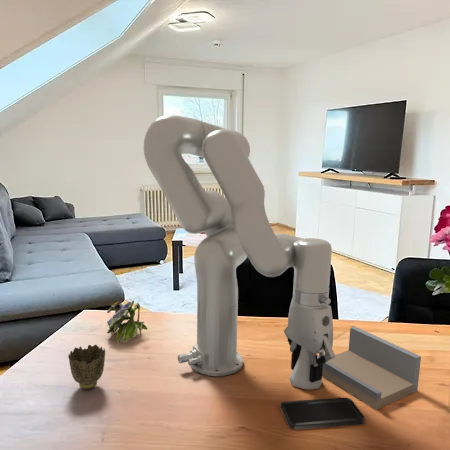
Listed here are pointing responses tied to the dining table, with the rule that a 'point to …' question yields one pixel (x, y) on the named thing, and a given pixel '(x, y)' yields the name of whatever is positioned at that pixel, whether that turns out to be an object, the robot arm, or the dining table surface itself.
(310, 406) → the phone
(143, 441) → the dining table surface
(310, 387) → the flask
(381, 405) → the wall shelf
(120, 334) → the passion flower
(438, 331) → the dining table surface
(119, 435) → the dining table surface
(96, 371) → the cup
